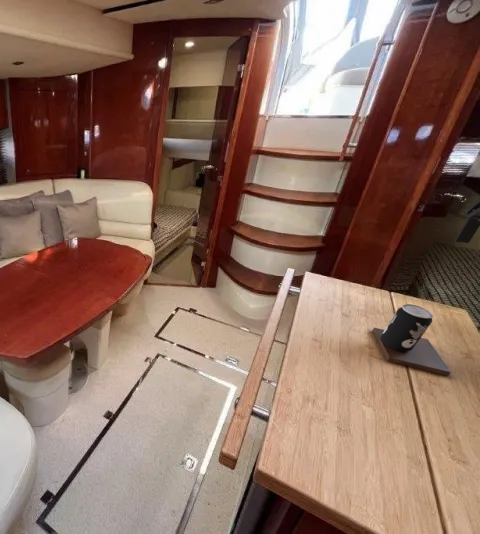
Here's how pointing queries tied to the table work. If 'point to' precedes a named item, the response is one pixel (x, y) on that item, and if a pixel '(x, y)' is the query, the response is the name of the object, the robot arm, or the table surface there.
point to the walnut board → (414, 355)
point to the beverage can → (406, 327)
